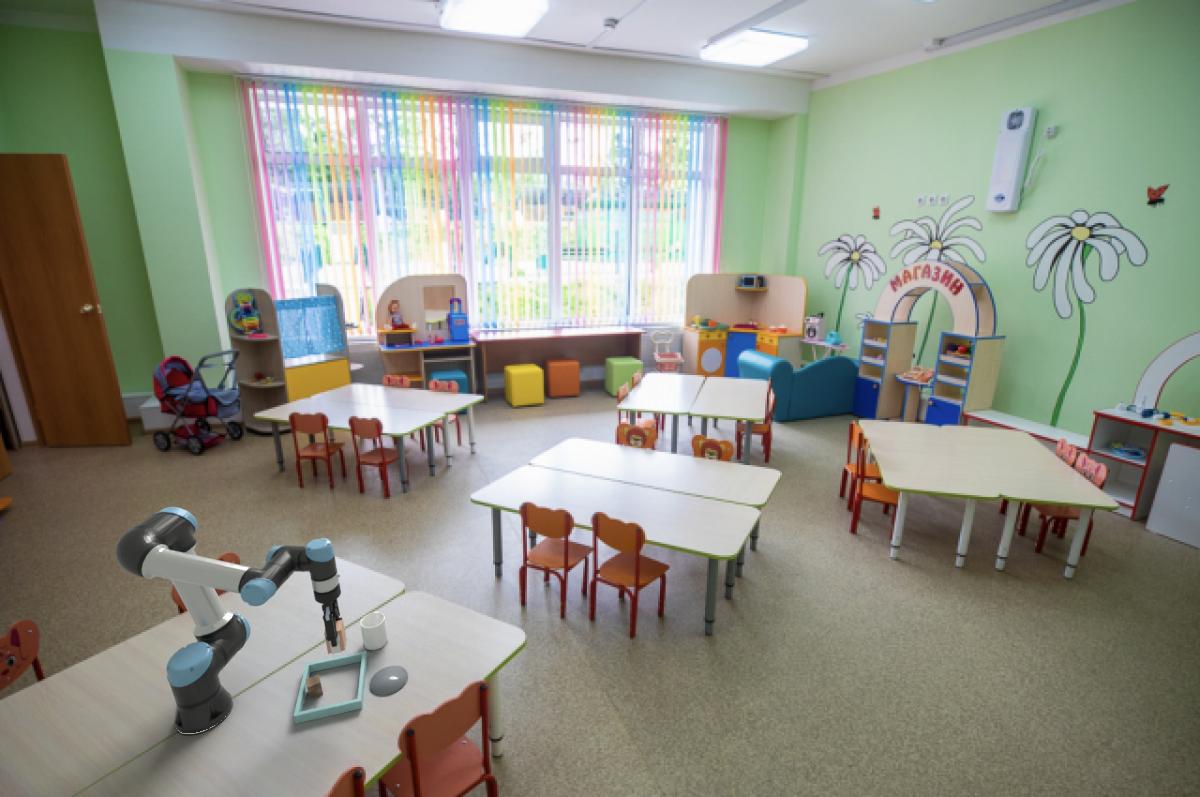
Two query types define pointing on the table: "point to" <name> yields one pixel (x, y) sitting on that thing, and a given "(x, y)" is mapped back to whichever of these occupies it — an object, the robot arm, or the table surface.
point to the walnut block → (314, 686)
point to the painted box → (340, 633)
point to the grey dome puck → (388, 680)
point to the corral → (334, 708)
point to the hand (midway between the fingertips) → (337, 645)
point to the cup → (374, 631)
